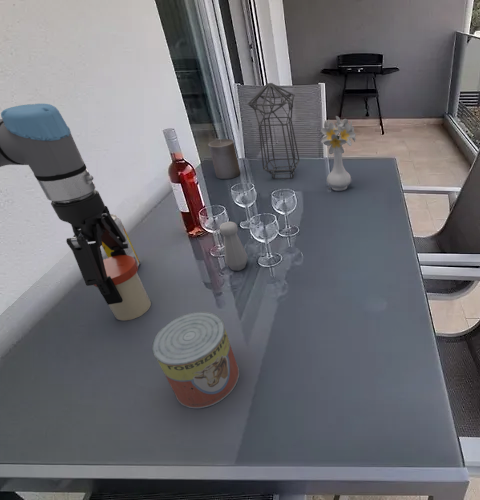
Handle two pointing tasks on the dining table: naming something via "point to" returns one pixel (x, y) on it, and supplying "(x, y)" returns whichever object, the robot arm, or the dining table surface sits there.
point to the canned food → (197, 359)
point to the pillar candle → (224, 158)
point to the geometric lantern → (251, 104)
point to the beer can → (130, 249)
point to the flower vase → (338, 151)
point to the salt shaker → (233, 247)
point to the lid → (120, 268)
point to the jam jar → (131, 300)
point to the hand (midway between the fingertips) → (122, 287)
